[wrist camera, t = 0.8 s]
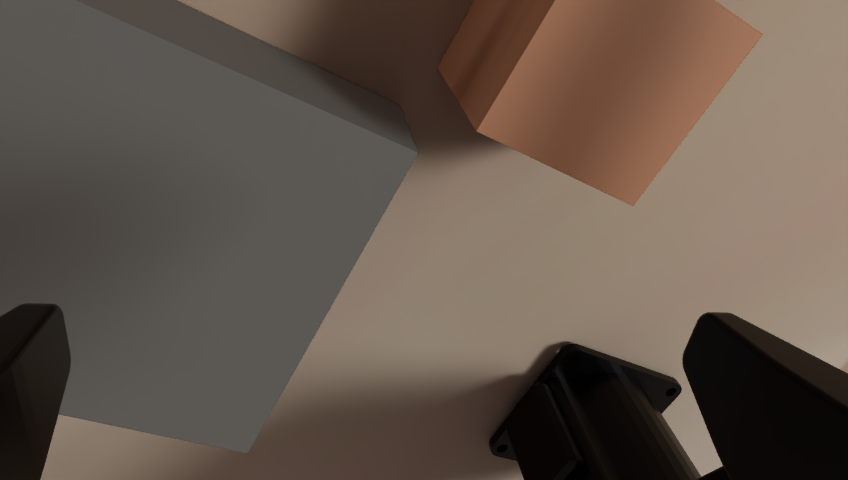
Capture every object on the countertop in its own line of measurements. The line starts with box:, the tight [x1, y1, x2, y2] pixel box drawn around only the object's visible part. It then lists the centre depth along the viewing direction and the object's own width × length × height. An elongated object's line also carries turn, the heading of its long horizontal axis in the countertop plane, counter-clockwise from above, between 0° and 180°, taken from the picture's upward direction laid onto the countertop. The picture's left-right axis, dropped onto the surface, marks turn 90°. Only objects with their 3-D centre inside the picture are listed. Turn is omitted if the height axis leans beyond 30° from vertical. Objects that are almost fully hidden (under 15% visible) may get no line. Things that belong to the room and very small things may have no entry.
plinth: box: [0, 0, 418, 454], centre depth 18 cm, size 12×12×4 cm
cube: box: [437, 0, 763, 206], centre depth 17 cm, size 5×5×5 cm
